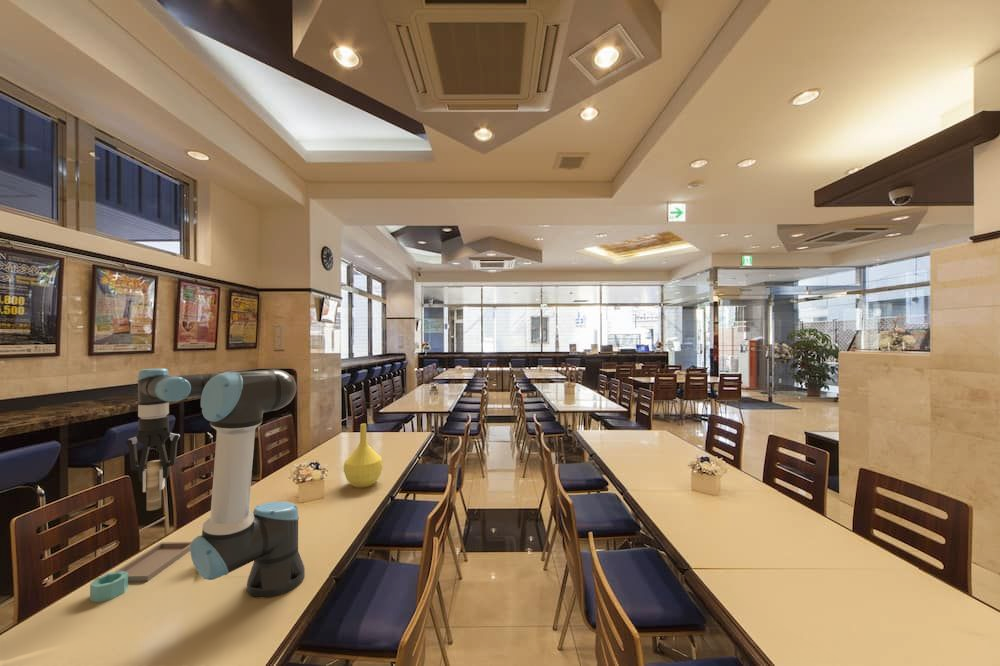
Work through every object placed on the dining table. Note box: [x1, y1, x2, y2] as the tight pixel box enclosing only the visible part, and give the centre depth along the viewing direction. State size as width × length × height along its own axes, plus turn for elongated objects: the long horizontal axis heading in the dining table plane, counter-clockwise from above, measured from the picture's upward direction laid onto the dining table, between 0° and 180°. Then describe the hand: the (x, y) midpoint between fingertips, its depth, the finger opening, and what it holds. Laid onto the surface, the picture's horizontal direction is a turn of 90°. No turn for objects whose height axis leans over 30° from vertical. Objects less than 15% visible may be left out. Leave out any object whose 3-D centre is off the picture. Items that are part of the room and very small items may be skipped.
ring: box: [89, 571, 129, 603], centre depth 115 cm, size 7×7×5 cm
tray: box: [114, 541, 192, 583], centre depth 130 cm, size 20×12×2 cm, turn 1°
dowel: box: [146, 459, 162, 512], centre depth 130 cm, size 4×4×15 cm
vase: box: [343, 423, 384, 488], centre depth 201 cm, size 18×18×30 cm
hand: (153, 489), depth 130 cm, fingers closed on dowel, 3 cm apart
